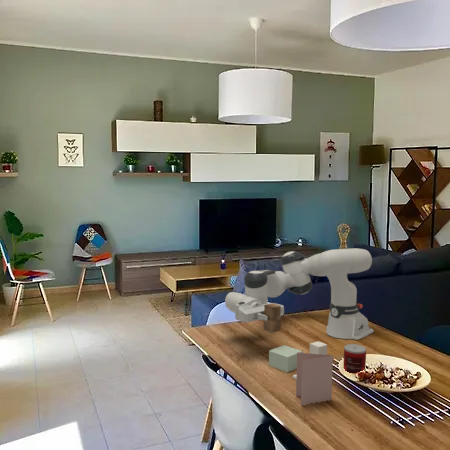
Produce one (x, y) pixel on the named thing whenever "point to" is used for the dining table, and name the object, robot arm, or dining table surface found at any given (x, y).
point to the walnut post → (272, 317)
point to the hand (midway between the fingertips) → (273, 317)
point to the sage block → (284, 358)
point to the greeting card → (314, 377)
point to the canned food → (354, 358)
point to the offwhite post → (318, 348)
